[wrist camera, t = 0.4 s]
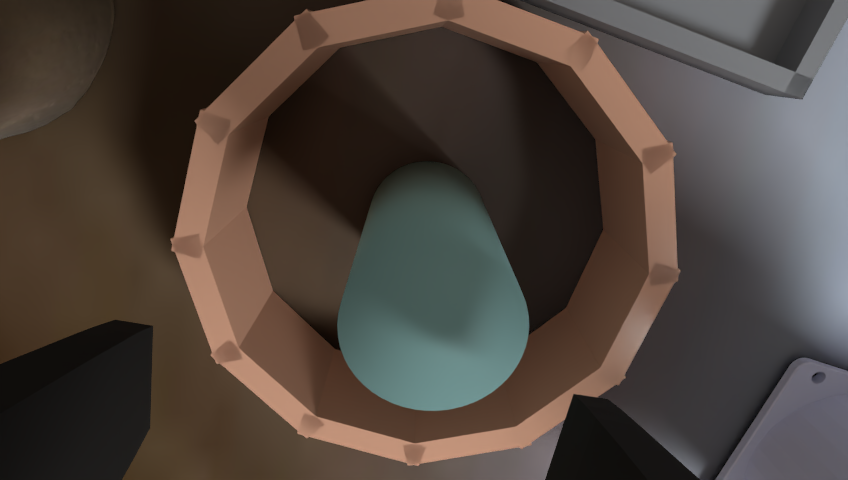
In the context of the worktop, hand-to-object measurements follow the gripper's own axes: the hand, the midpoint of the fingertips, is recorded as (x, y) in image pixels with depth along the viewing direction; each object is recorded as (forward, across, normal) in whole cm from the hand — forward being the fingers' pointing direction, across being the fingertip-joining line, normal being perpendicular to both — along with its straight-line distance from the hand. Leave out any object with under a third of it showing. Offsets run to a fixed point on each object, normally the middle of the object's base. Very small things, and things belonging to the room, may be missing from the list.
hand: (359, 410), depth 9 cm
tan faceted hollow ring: (+10, -1, 0) cm, 10 cm away
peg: (+10, -1, 0) cm, 10 cm away
